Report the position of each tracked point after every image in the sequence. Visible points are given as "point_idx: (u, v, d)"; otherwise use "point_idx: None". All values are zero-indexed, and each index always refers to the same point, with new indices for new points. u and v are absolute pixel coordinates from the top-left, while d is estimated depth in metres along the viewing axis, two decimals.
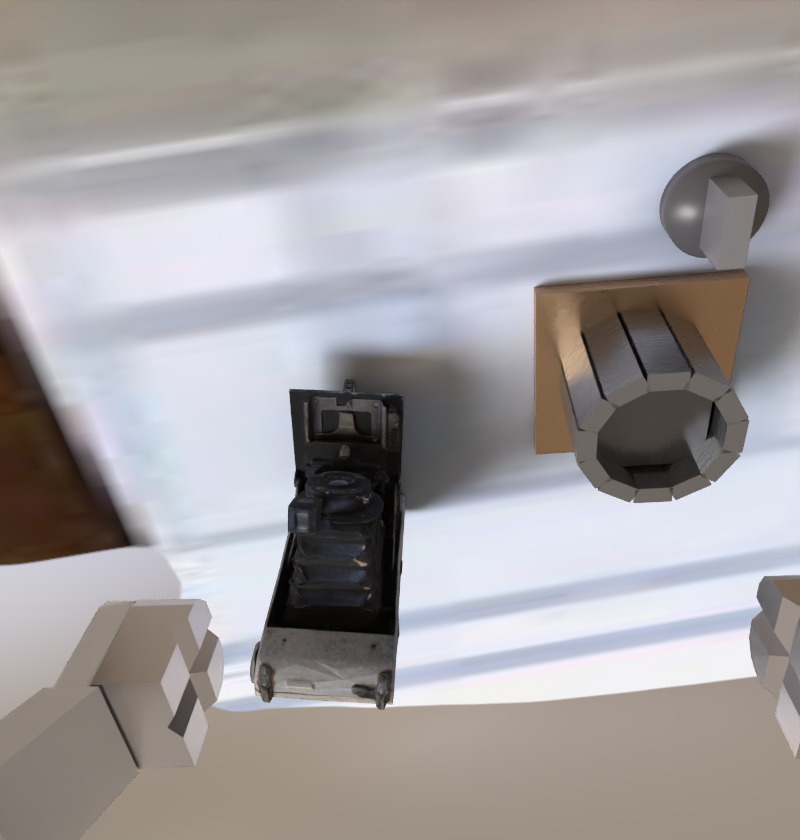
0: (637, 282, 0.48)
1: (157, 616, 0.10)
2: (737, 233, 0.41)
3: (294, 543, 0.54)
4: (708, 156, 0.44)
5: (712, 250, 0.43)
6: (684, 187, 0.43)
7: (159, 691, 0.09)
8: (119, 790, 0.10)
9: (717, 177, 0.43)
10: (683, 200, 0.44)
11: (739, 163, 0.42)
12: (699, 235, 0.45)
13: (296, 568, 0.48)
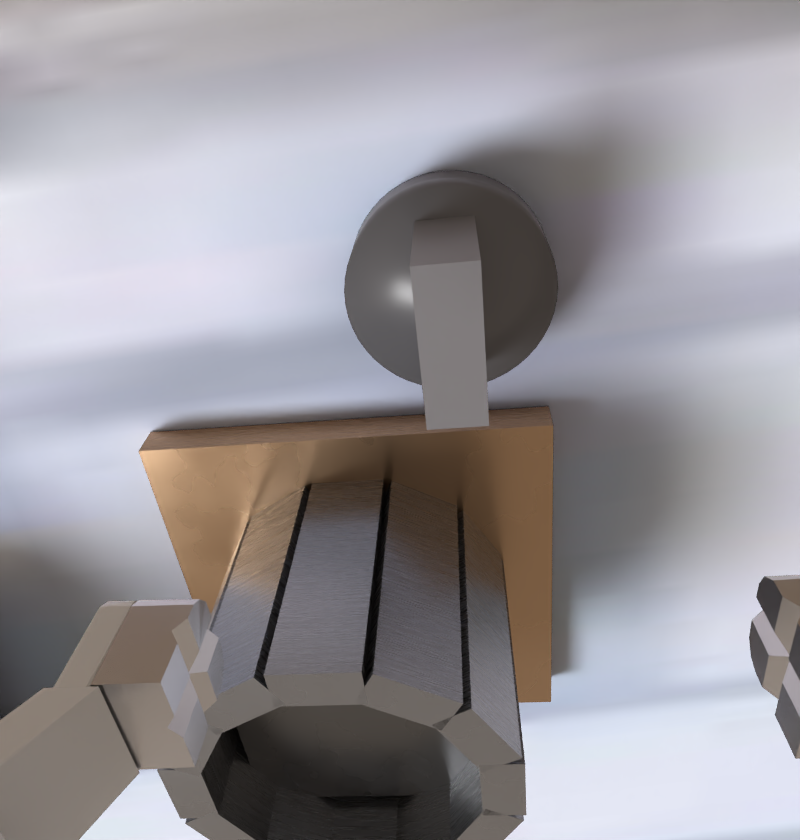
0: (340, 427, 0.24)
1: (157, 616, 0.10)
2: (453, 350, 0.17)
3: None
4: (425, 176, 0.20)
5: None
6: (364, 242, 0.19)
7: (159, 691, 0.09)
8: (119, 790, 0.10)
9: (432, 219, 0.19)
10: (370, 270, 0.20)
11: (476, 189, 0.19)
12: None
13: None
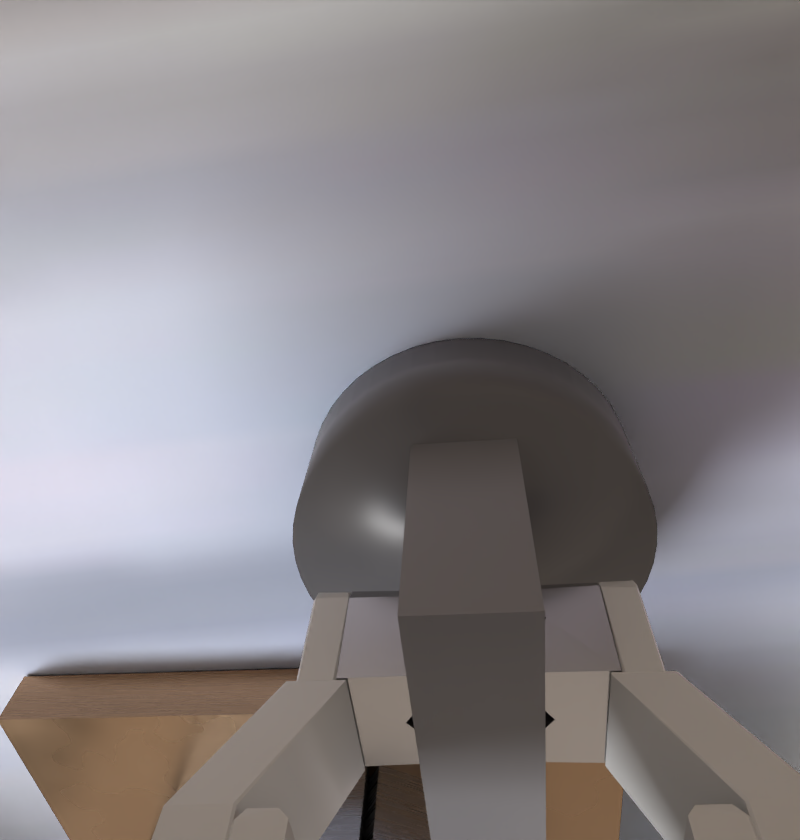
0: None
1: (380, 607, 0.10)
2: (484, 739, 0.09)
3: None
4: (430, 352, 0.12)
5: None
6: (325, 474, 0.11)
7: (406, 684, 0.09)
8: (351, 787, 0.09)
9: (442, 443, 0.11)
10: (336, 514, 0.12)
11: (520, 396, 0.10)
12: None
13: None
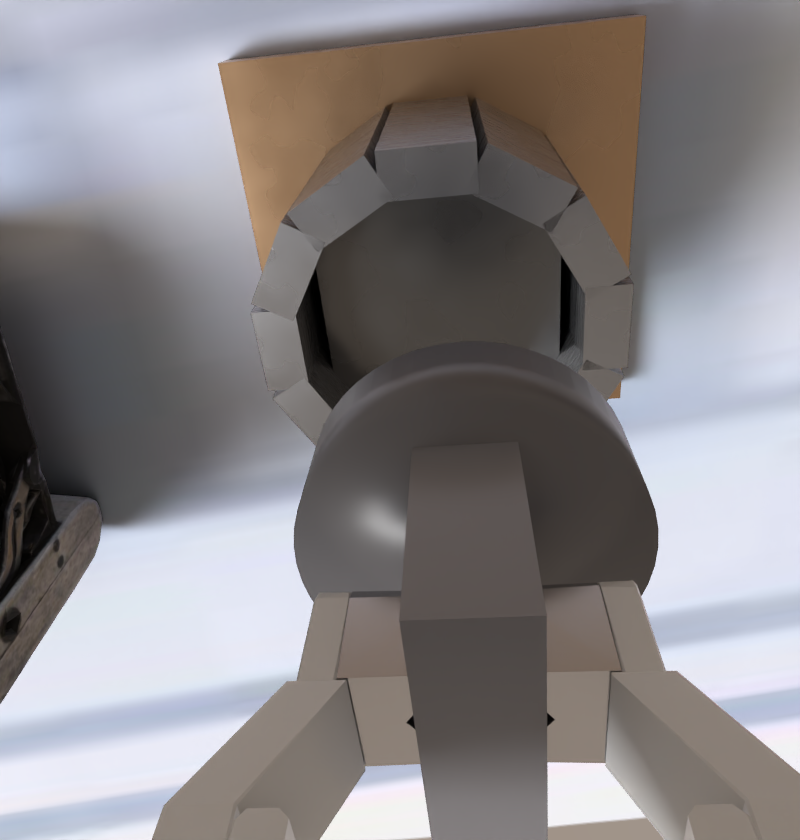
0: (424, 39, 0.24)
1: (381, 608, 0.10)
2: (485, 743, 0.09)
3: None
4: (431, 355, 0.12)
5: None
6: (326, 476, 0.11)
7: (407, 684, 0.09)
8: (351, 787, 0.09)
9: (443, 447, 0.11)
10: (337, 517, 0.12)
11: (522, 399, 0.10)
12: None
13: None
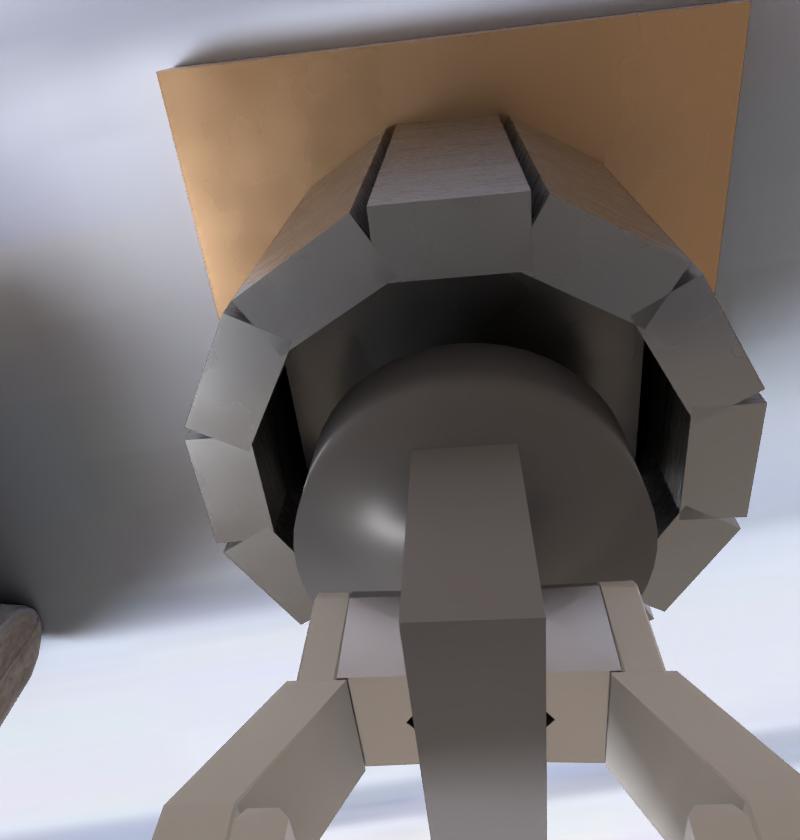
0: (438, 36, 0.17)
1: (381, 607, 0.10)
2: (485, 744, 0.09)
3: None
4: (430, 357, 0.12)
5: None
6: (325, 478, 0.11)
7: (407, 684, 0.09)
8: (351, 787, 0.09)
9: (442, 448, 0.11)
10: (337, 518, 0.12)
11: (521, 401, 0.10)
12: None
13: None
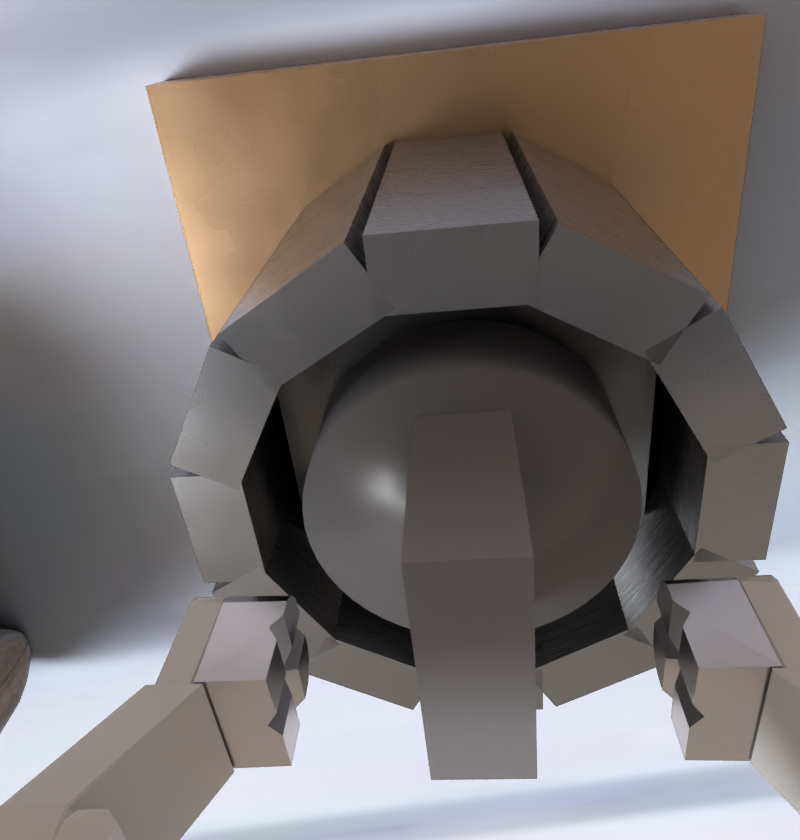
0: (439, 49, 0.17)
1: (251, 612, 0.10)
2: (479, 680, 0.10)
3: None
4: (430, 332, 0.13)
5: None
6: (332, 444, 0.12)
7: (263, 688, 0.09)
8: (217, 789, 0.10)
9: (441, 415, 0.12)
10: (343, 483, 0.12)
11: (514, 371, 0.11)
12: None
13: None
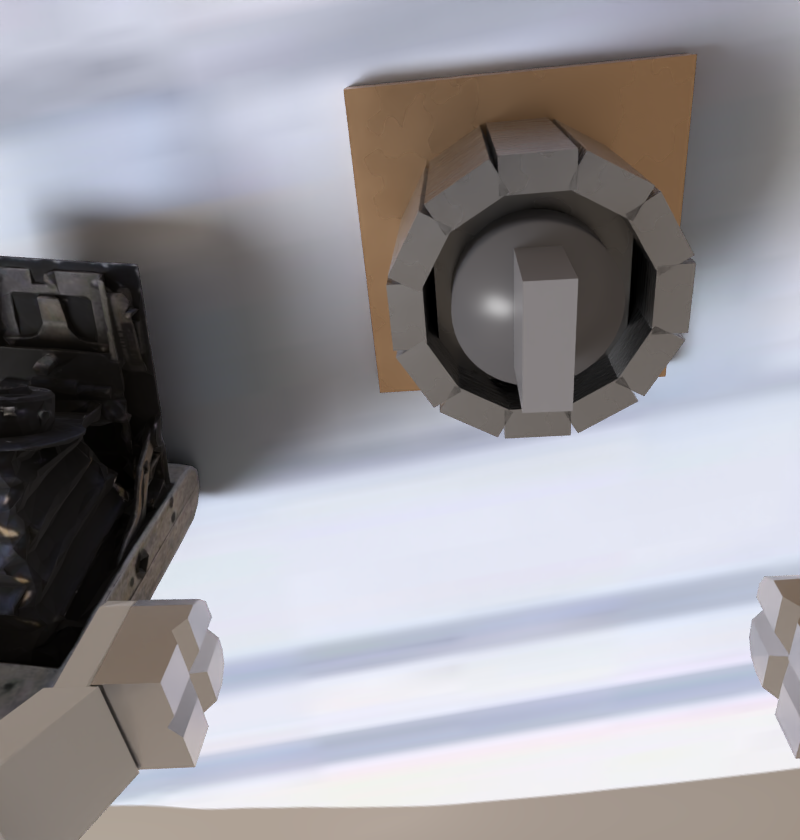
0: (512, 71, 0.29)
1: (157, 616, 0.10)
2: (550, 348, 0.22)
3: None
4: (519, 213, 0.25)
5: (519, 376, 0.24)
6: (472, 263, 0.24)
7: (159, 691, 0.09)
8: (119, 790, 0.10)
9: (528, 247, 0.24)
10: (474, 286, 0.25)
11: (564, 225, 0.24)
12: (511, 348, 0.26)
13: None
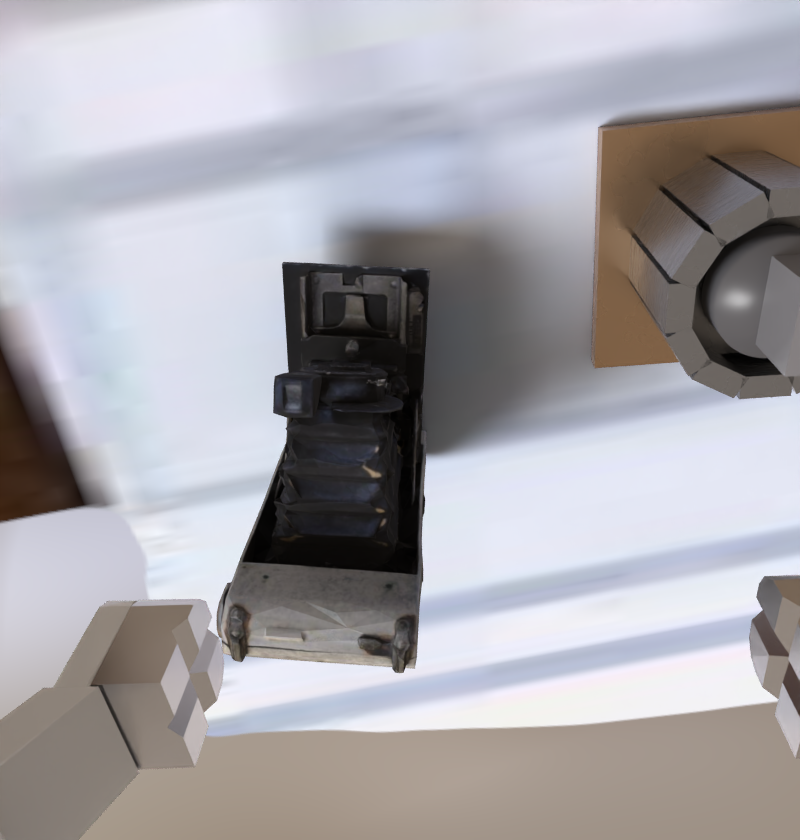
0: (734, 114, 0.37)
1: (157, 616, 0.10)
2: None
3: None
4: (768, 229, 0.33)
5: (777, 350, 0.32)
6: (738, 267, 0.33)
7: (159, 691, 0.09)
8: (119, 790, 0.10)
9: (783, 255, 0.32)
10: (736, 283, 0.33)
11: None
12: (755, 329, 0.34)
13: (285, 481, 0.35)
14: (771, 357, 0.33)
